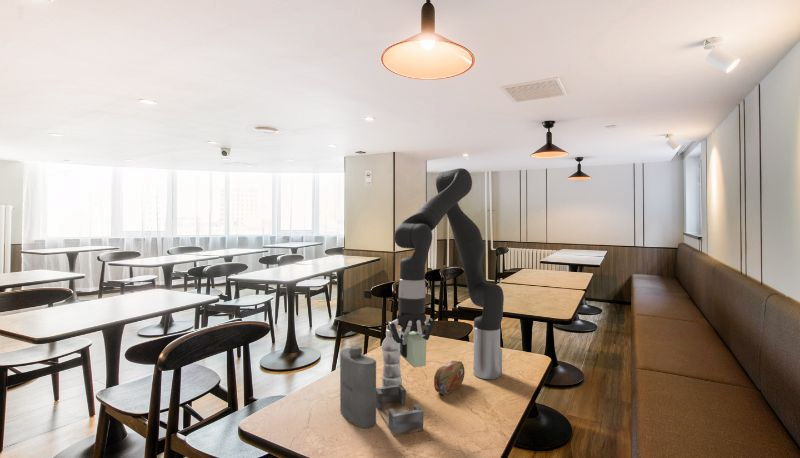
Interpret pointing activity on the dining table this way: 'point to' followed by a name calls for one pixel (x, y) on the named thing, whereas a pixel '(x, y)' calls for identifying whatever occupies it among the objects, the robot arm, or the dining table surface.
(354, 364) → the flask
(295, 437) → the dining table surface
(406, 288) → the robot arm
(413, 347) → the slat
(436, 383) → the tin
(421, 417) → the cradle
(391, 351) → the plastic bottle
